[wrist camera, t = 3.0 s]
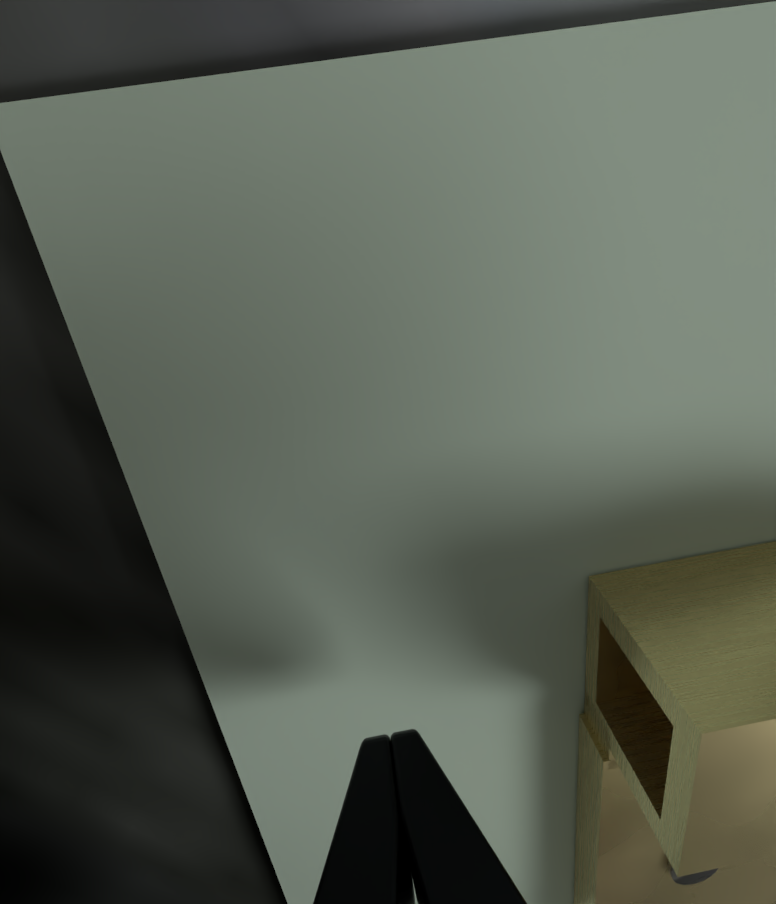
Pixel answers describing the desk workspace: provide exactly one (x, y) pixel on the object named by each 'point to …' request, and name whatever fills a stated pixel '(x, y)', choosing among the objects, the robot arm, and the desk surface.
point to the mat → (424, 381)
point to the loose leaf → (679, 733)
